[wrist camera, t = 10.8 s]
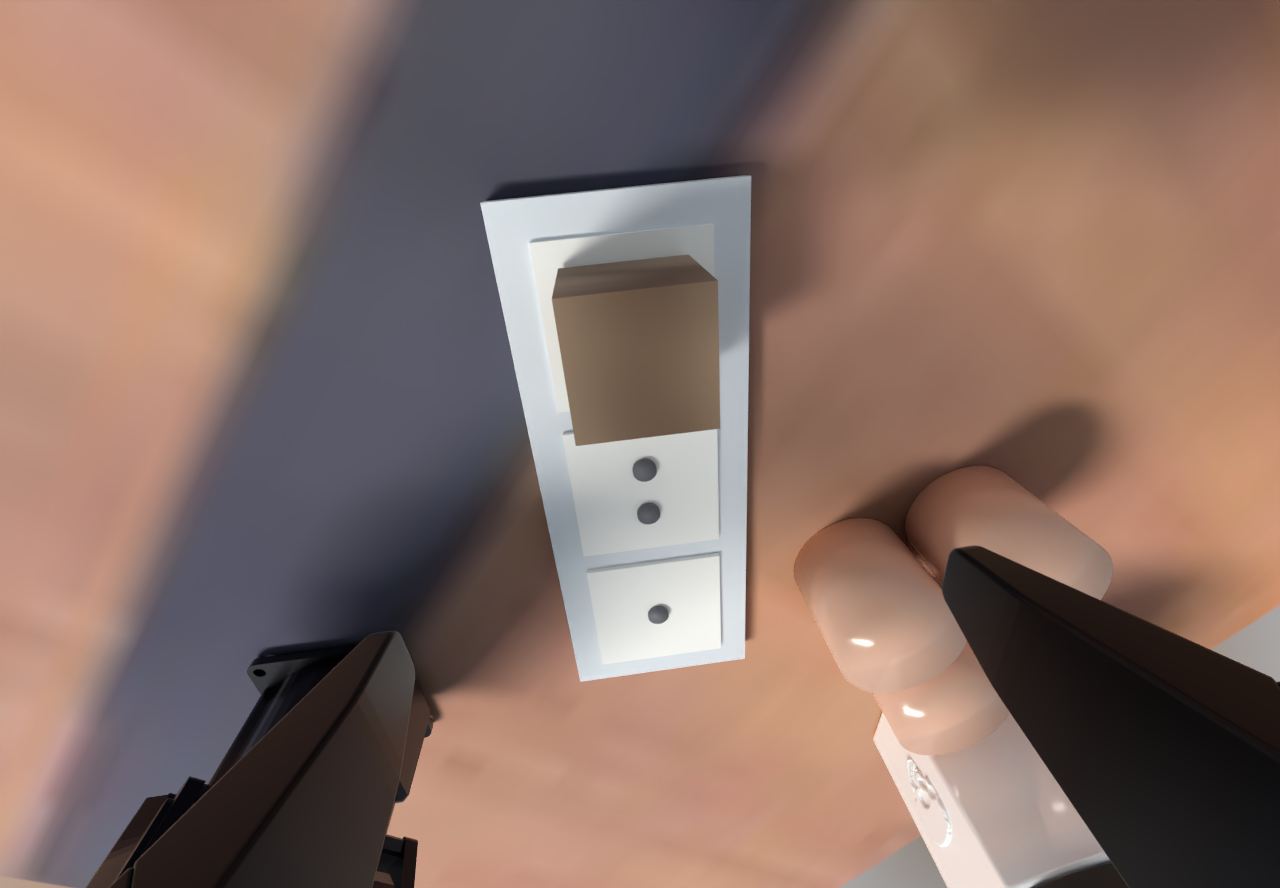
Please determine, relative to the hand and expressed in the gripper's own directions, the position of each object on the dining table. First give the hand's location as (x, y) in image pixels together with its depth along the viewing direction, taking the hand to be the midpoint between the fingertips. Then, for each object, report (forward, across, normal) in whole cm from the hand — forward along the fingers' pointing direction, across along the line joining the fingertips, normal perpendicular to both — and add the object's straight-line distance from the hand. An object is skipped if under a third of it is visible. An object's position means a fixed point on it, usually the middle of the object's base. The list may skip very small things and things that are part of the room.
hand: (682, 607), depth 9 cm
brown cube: (+11, 0, -2) cm, 11 cm away
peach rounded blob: (+12, -14, +9) cm, 20 cm away
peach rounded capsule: (+12, -9, +11) cm, 19 cm away
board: (+12, 0, +5) cm, 13 cm away
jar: (+12, -16, +23) cm, 30 cm away
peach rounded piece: (+12, -12, +16) cm, 23 cm away
